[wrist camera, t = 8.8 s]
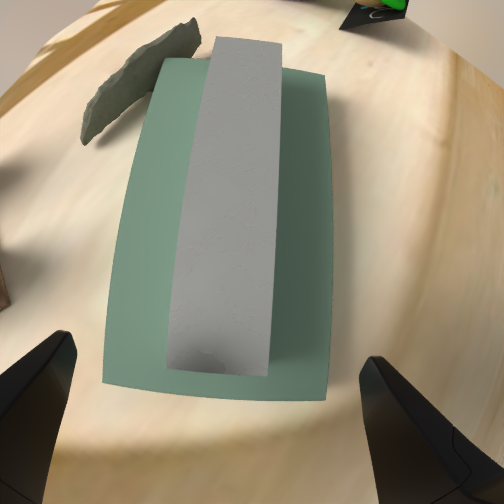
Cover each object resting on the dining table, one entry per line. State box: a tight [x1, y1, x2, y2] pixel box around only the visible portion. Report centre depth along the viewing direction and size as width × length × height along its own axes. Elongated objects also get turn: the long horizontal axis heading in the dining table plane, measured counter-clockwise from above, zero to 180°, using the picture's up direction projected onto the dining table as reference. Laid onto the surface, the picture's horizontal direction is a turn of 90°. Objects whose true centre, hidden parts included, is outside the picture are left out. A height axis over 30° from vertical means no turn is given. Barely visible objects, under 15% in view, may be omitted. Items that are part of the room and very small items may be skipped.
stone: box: [80, 17, 201, 146], centre depth 20 cm, size 13×2×5 cm, turn 143°
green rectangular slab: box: [102, 58, 333, 401], centre depth 19 cm, size 22×12×3 cm, turn 176°
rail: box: [165, 36, 282, 377], centre depth 16 cm, size 18×4×4 cm, turn 176°
